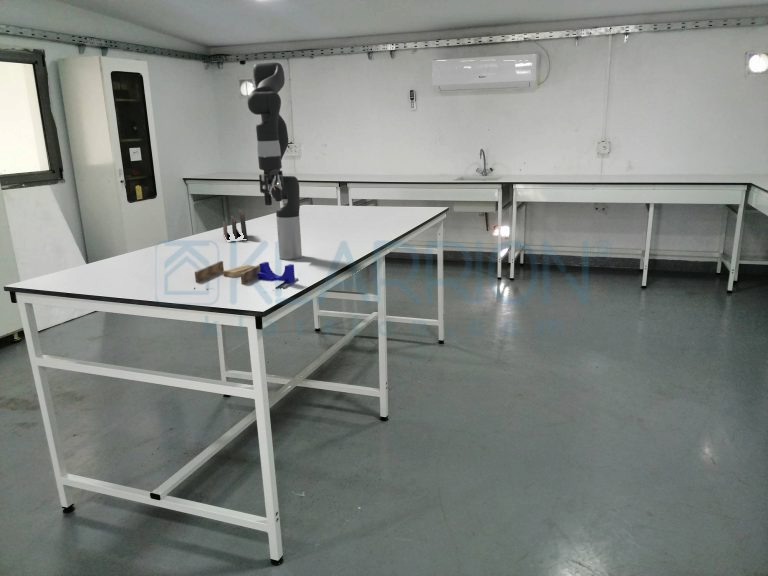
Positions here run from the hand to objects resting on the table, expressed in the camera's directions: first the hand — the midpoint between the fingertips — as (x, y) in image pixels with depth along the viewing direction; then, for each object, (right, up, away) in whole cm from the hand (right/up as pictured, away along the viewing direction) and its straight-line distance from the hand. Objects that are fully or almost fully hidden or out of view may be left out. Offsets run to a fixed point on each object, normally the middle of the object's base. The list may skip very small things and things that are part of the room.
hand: (273, 203), depth 190 cm
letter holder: (-37, -4, +89) cm, 97 cm away
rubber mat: (+1, -28, -2) cm, 28 cm away
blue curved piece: (+1, -27, -1) cm, 27 cm away
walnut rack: (-15, -27, +3) cm, 31 cm away
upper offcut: (-14, -24, +8) cm, 29 cm away
